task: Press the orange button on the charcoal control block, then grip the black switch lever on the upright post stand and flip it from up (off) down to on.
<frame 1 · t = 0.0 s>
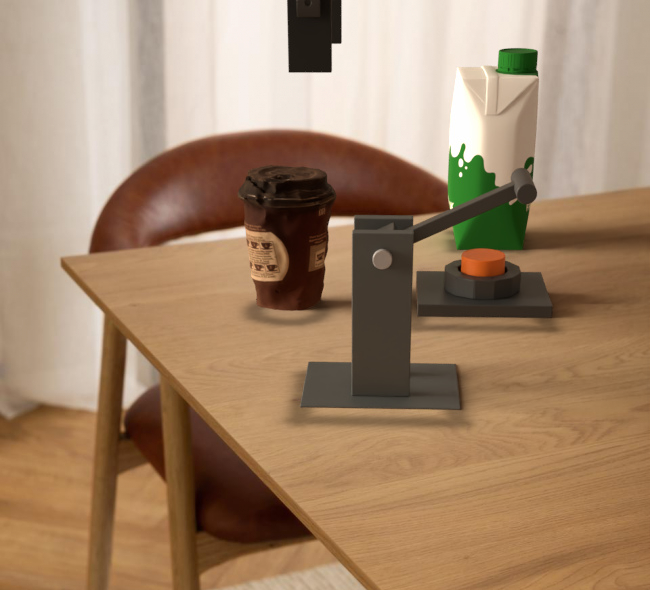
hand: (317, 57, 81), 25 cm above the table, tool pointing down, fingers open, 13 cm apart
switch lever: (447, 219, 86), point 14 cm above the table, hinge at 25.0°
coffee cup: (288, 313, 111), on the table
start button: (483, 263, 109), point 4 cm above the table, slide at 0.1 cm
upright post stand: (380, 397, 93), on the table
control block: (480, 310, 111), on the table
milk carton: (486, 243, 131), on the table
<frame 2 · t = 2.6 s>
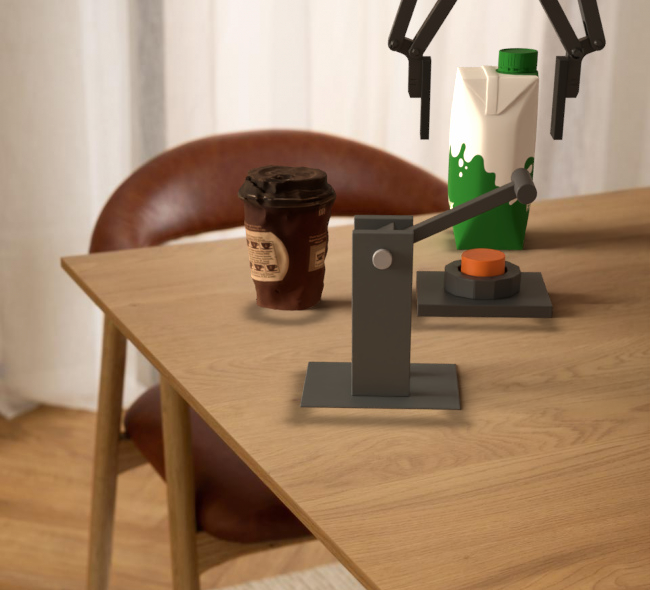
hand: (490, 136, 103), 16 cm above the table, tool pointing down, fingers open, 11 cm apart
nothing on the table moved.
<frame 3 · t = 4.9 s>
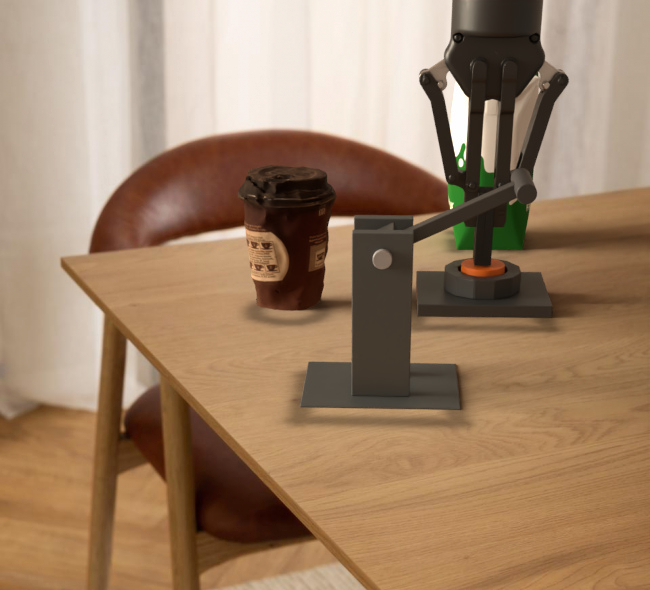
hand: (481, 260, 109), 5 cm above the table, tool pointing down, fingers closed
start button: (482, 272, 109), point 4 cm above the table, slide at -0.8 cm, touching gripper
everything else where it was.
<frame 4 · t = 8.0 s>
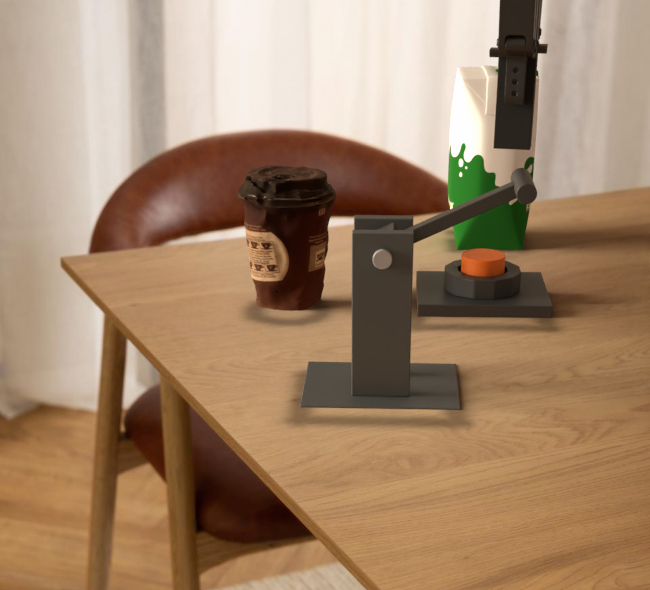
hand: (512, 146, 89), 18 cm above the table, tool pointing down, fingers closed
start button: (483, 263, 109), point 4 cm above the table, slide at 0.1 cm
everything else where it was.
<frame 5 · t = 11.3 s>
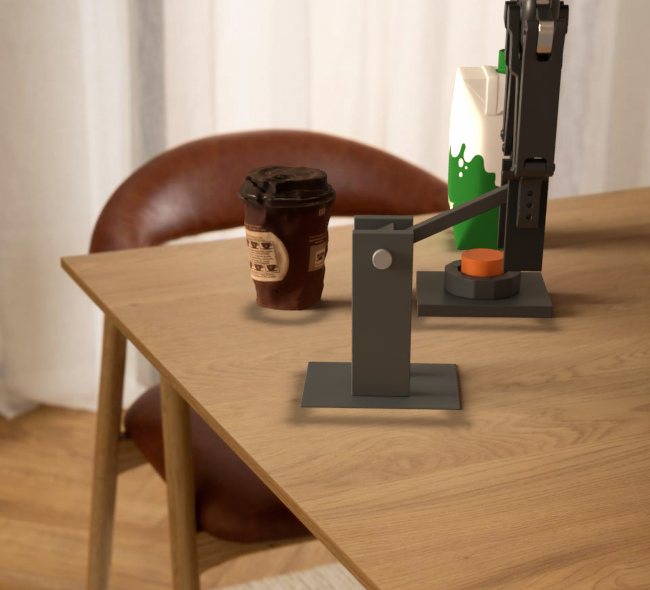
hand: (518, 257, 87), 11 cm above the table, tool pointing down, fingers closed on switch lever, 5 cm apart
switch lever: (447, 219, 86), point 14 cm above the table, hinge at 25.0°, touching gripper
everything else where it was.
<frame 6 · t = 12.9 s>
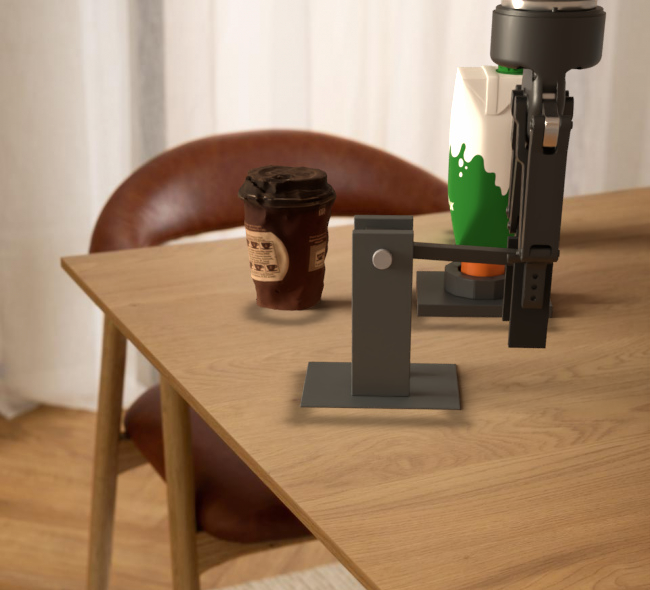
hand: (523, 332, 90), 6 cm above the table, tool pointing down, fingers closed on switch lever, 5 cm apart
switch lever: (452, 253, 87), point 12 cm above the table, hinge at -3.6°, touching gripper
everything else where it was.
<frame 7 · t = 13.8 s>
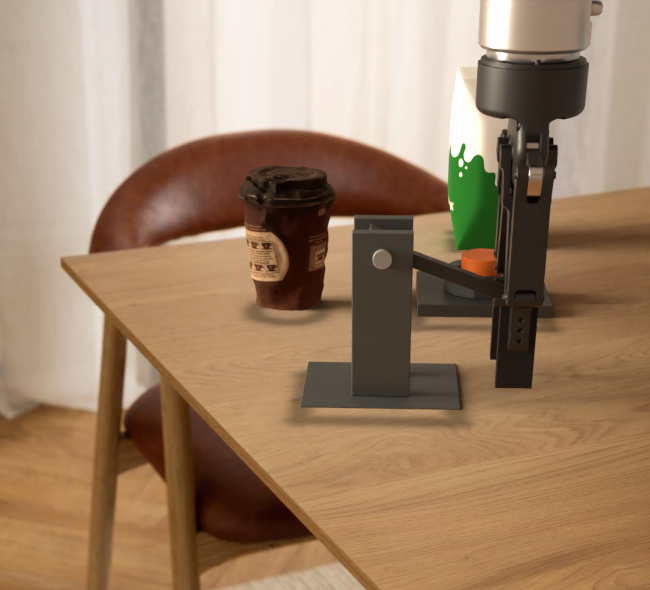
hand: (509, 371, 91), 2 cm above the table, tool pointing down, fingers closed on switch lever, 5 cm apart
switch lever: (448, 272, 88), point 10 cm above the table, hinge at -20.1°, touching gripper
everything else where it was.
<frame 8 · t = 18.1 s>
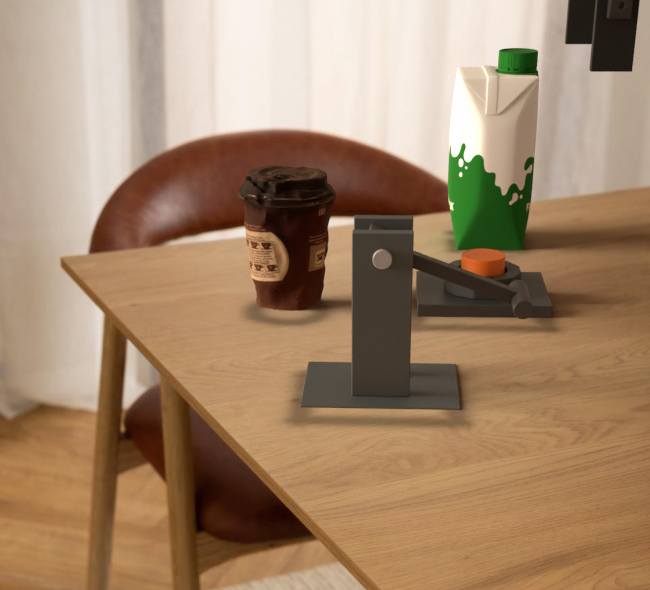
hand: (595, 57, 85), 25 cm above the table, tool pointing down, fingers open, 13 cm apart
switch lever: (447, 272, 88), point 10 cm above the table, hinge at -20.2°
everything else where it was.
at the end: start button pushed in 1.0 cm at the most during the clip, back to where it started at the end; start button slide at 0.1 cm; switch lever at -20° (first picture: +25°) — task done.
